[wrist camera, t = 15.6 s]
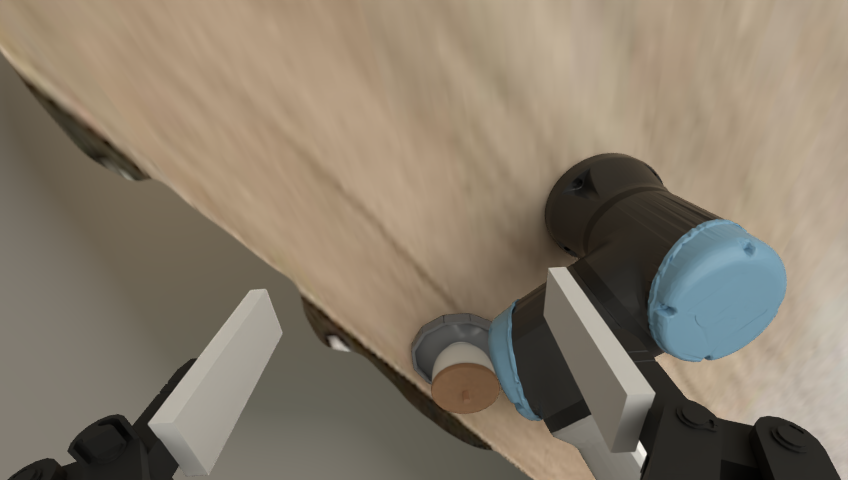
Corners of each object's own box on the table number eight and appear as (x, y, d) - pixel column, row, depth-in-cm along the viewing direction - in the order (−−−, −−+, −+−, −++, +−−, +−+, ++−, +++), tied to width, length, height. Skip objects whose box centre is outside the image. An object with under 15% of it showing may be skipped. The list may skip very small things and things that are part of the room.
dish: (505, 310, 56) (507, 317, 55) (502, 378, 64) (504, 386, 62) (408, 317, 57) (407, 324, 55) (417, 383, 64) (417, 391, 63)
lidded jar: (483, 378, 62) (493, 426, 54) (426, 372, 61) (426, 420, 53) (497, 334, 57) (509, 380, 49) (435, 328, 56) (437, 373, 48)
